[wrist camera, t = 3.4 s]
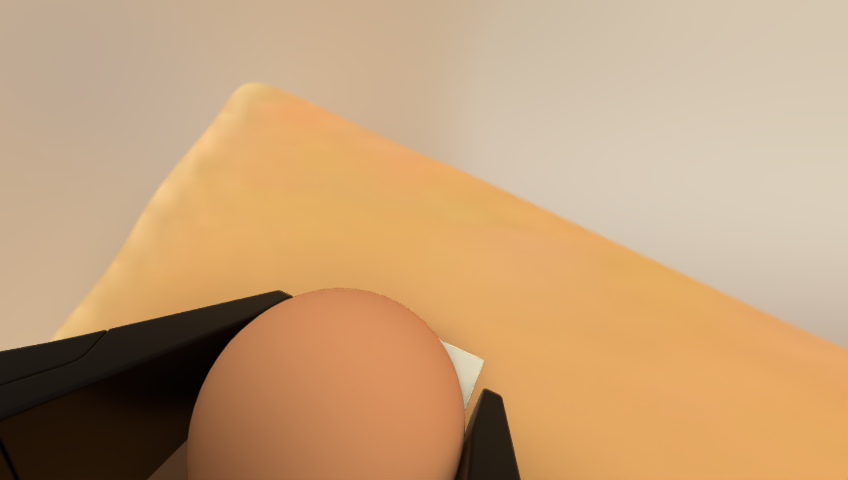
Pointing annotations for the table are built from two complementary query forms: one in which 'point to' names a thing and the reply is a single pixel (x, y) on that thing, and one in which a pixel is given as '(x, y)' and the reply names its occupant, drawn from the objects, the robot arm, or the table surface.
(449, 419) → the ball
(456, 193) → the table surface
